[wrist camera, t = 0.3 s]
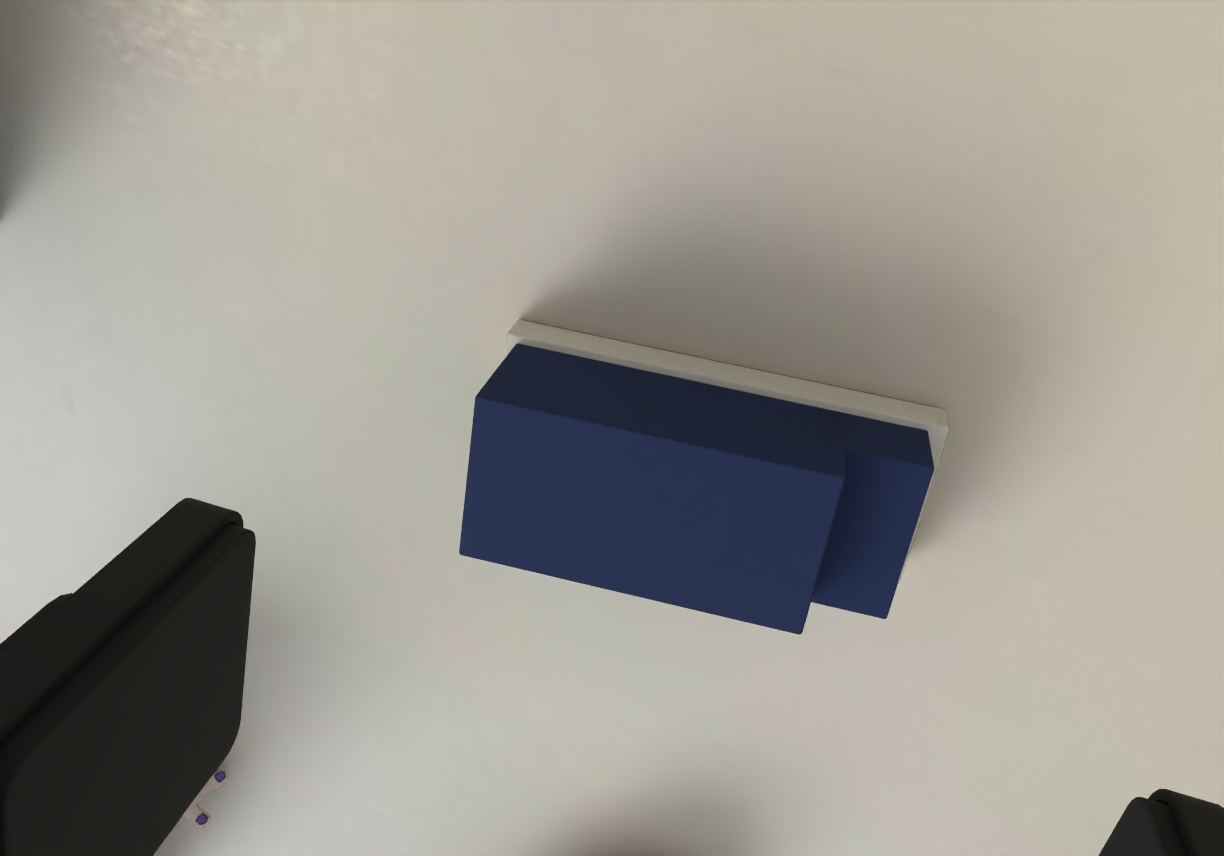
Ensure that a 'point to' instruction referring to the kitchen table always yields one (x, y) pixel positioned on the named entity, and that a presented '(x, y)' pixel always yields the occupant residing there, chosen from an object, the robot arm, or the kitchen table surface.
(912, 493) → the two-tone stepped block
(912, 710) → the kitchen table surface
